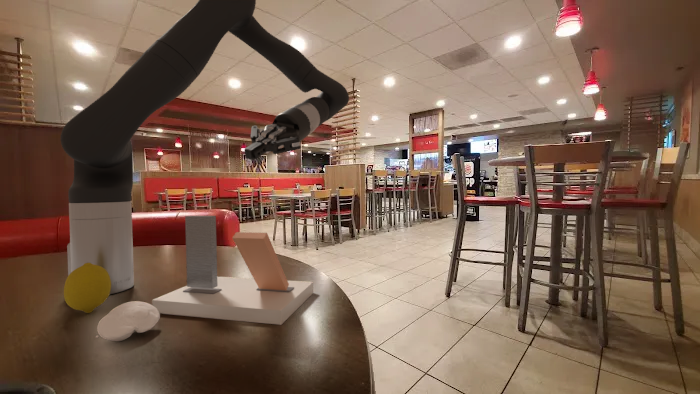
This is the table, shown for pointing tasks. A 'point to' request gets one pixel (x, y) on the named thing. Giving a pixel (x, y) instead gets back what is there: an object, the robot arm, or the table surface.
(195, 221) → the grey paddle
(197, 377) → the table surface
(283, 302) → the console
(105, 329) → the dumpling
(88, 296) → the lemon
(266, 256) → the terracotta paddle
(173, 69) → the robot arm
